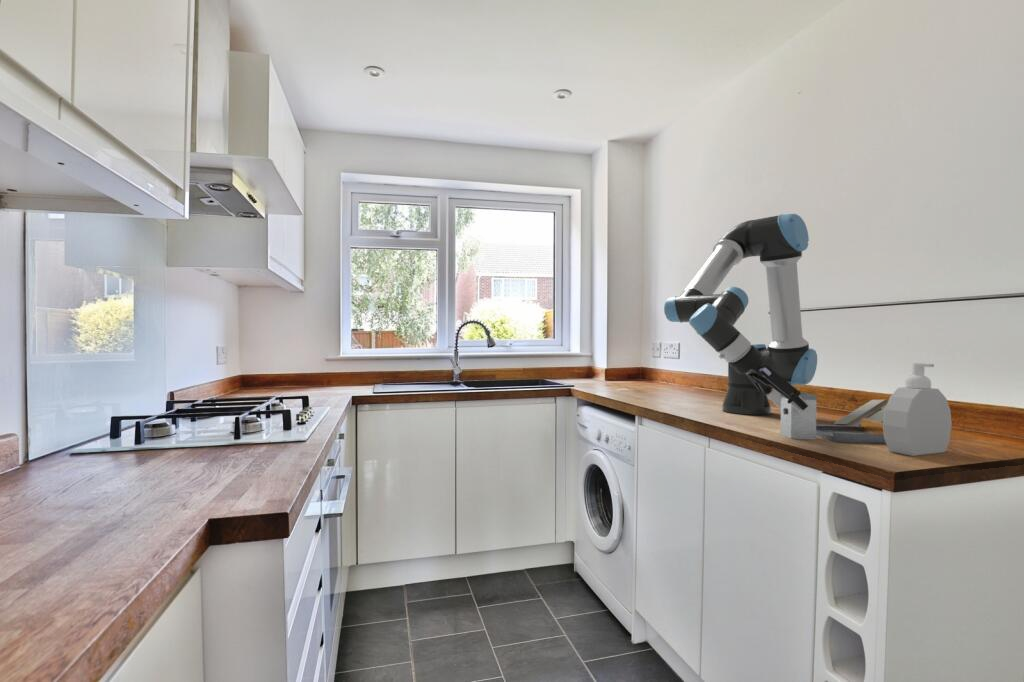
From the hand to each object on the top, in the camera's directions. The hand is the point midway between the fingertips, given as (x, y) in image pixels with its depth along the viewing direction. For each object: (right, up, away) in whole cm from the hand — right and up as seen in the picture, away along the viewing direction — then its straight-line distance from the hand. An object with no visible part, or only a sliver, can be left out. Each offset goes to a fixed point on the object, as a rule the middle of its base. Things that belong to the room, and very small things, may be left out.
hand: (800, 413), depth 128 cm
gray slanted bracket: (+30, -7, +15) cm, 34 cm away
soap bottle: (+17, -7, -16) cm, 24 cm away
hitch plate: (+13, -6, -1) cm, 14 cm away
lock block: (0, -6, +1) cm, 6 cm away
